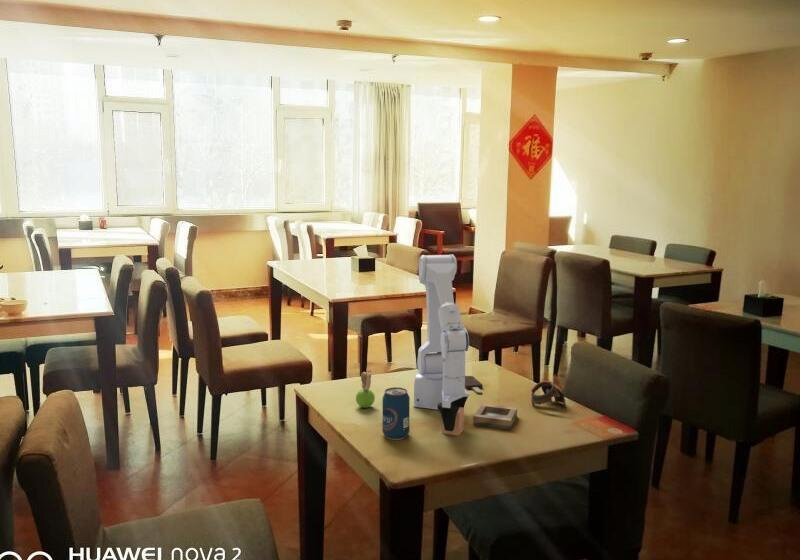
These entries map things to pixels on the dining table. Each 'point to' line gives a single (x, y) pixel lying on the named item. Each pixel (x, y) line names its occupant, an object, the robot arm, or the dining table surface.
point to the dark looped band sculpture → (547, 393)
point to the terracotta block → (456, 423)
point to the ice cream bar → (473, 384)
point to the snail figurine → (365, 392)
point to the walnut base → (495, 416)
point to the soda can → (395, 413)
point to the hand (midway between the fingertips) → (453, 425)
